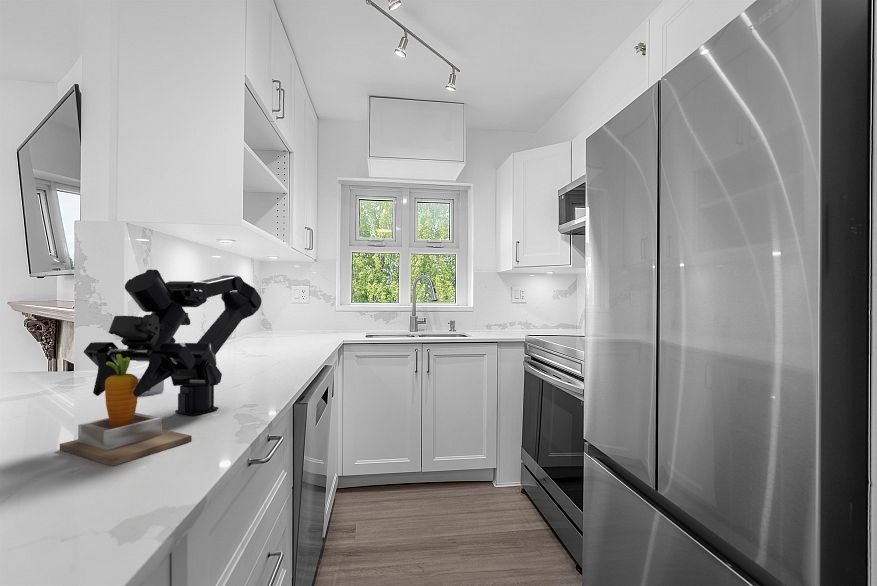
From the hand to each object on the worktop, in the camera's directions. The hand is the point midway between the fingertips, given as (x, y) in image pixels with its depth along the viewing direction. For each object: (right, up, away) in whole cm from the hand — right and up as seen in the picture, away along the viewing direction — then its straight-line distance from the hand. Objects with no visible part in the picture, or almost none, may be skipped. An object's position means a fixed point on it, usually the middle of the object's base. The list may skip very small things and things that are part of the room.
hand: (115, 394), depth 76 cm
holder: (+2, -9, 0) cm, 9 cm away
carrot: (0, -8, +1) cm, 8 cm away
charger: (-26, -10, +45) cm, 53 cm away
